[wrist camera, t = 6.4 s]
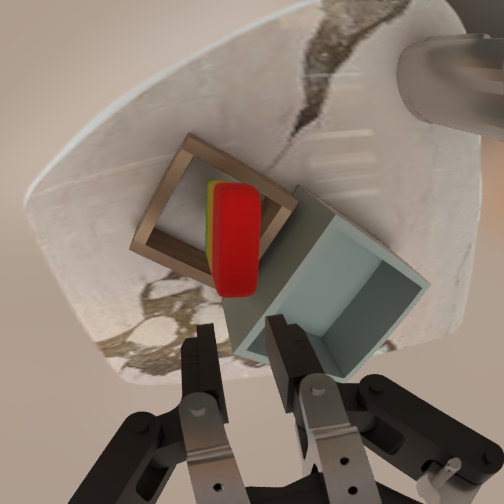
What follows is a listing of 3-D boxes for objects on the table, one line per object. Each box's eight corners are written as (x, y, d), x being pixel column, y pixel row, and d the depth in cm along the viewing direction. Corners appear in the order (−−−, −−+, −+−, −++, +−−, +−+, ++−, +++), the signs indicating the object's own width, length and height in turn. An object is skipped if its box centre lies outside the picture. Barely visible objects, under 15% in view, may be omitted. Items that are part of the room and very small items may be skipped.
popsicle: (221, 183, 13) (266, 185, 13) (201, 178, 27) (222, 178, 28) (218, 307, 14) (259, 306, 15) (199, 240, 28) (220, 240, 29)
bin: (299, 185, 29) (335, 214, 22) (389, 248, 34) (431, 284, 27) (221, 300, 33) (233, 353, 26) (319, 338, 38) (344, 384, 31)
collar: (188, 132, 25) (188, 137, 21) (284, 188, 29) (299, 201, 25) (135, 230, 28) (129, 249, 24) (228, 274, 31) (234, 296, 28)
